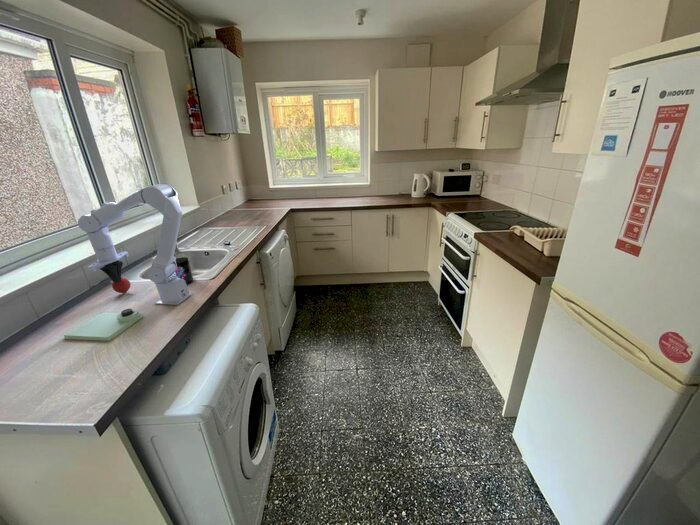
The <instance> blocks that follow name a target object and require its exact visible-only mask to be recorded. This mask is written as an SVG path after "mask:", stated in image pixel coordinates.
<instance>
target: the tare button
mask: <svg viewBox="0 0 700 525" xmlns="http://www.w3.org/2000/svg"><path fill="white" fill-rule="evenodd" d="M132 309H133V308H125V309H123V310H122V311H121V312H120V313H121V314H122V317H126V316H129V315H131V314H133V312H132Z"/></svg>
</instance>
